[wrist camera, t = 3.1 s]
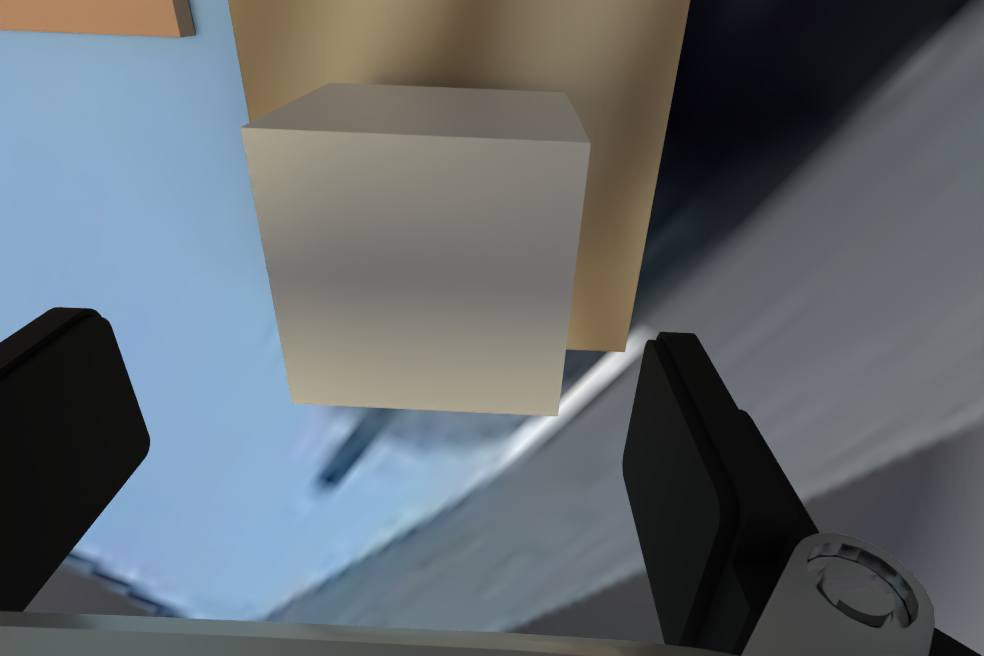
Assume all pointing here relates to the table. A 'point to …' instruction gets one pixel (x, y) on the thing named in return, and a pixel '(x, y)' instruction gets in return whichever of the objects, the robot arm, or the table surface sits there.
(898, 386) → the table surface
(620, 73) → the post stand
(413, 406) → the cream rectangular prism
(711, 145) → the table surface
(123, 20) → the tile
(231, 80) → the table surface
